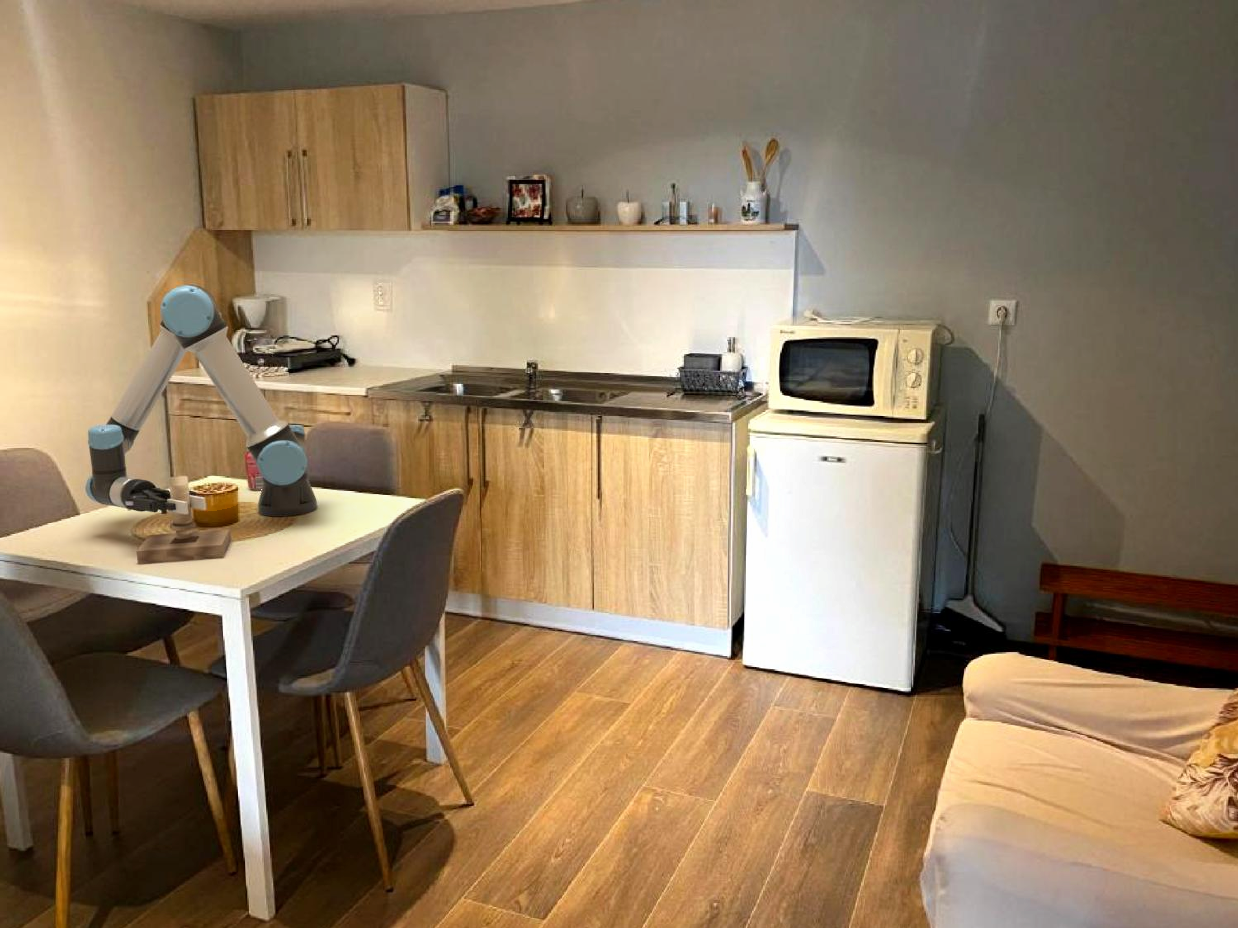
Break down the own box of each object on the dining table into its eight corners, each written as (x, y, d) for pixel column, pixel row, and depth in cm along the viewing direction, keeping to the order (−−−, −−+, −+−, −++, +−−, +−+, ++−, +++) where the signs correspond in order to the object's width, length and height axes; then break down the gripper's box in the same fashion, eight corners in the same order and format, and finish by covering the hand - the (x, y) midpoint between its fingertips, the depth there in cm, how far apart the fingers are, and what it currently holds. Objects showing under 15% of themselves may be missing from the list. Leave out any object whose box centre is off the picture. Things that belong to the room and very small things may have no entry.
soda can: (266, 484, 310) (263, 445, 308) (277, 488, 305) (274, 448, 303) (243, 488, 305) (240, 448, 303) (254, 492, 300) (251, 452, 298)
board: (231, 541, 249) (229, 529, 248) (222, 557, 235) (221, 544, 235) (150, 547, 245) (149, 535, 244) (137, 564, 232) (136, 551, 231)
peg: (195, 533, 242) (189, 475, 239) (192, 538, 238) (186, 479, 235) (176, 535, 241) (170, 476, 238) (173, 539, 237) (166, 480, 234)
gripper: (168, 502, 255) (228, 514, 243) (102, 517, 241) (163, 530, 229) (165, 472, 254) (226, 482, 241) (99, 485, 240) (159, 497, 227)
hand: (195, 506), depth 235 cm, fingers closed on peg, 4 cm apart
